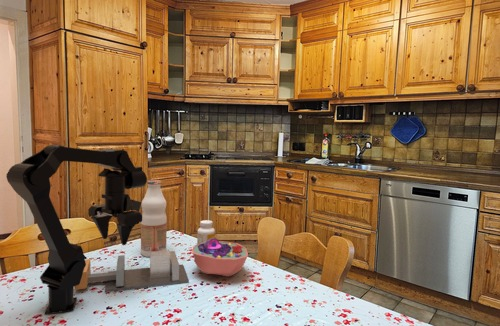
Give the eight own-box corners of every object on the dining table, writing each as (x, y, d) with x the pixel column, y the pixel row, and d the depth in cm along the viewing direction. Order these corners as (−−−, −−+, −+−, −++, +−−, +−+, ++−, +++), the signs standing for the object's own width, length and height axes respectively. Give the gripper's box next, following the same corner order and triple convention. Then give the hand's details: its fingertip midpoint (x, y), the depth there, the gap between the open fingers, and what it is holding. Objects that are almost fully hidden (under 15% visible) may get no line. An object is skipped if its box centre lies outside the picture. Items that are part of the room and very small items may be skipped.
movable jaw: (123, 285, 97) (123, 269, 97) (73, 291, 93) (73, 274, 92) (124, 269, 108) (124, 255, 108) (80, 273, 104) (80, 258, 104)
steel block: (170, 276, 105) (170, 254, 105) (150, 278, 103) (150, 256, 103) (168, 271, 109) (169, 250, 109) (149, 273, 107) (150, 252, 107)
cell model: (225, 291, 98) (226, 254, 97) (180, 272, 110) (180, 239, 109) (258, 273, 112) (259, 240, 111) (215, 258, 124) (215, 229, 123)
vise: (188, 282, 103) (189, 263, 102) (104, 292, 95) (104, 272, 95) (183, 266, 115) (183, 249, 115) (108, 273, 107) (108, 256, 107)
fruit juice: (139, 258, 121) (139, 182, 119) (141, 249, 130) (142, 179, 128) (166, 257, 123) (166, 182, 121) (166, 248, 132) (167, 179, 130)
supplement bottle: (216, 252, 130) (216, 220, 129) (212, 258, 124) (213, 224, 123) (199, 250, 131) (200, 219, 130) (195, 256, 125) (195, 223, 123)
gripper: (157, 191, 101) (156, 241, 102) (119, 185, 111) (118, 230, 112) (126, 196, 92) (125, 251, 93) (87, 188, 102) (87, 238, 103)
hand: (114, 241), depth 101 cm, fingers open, 9 cm apart
